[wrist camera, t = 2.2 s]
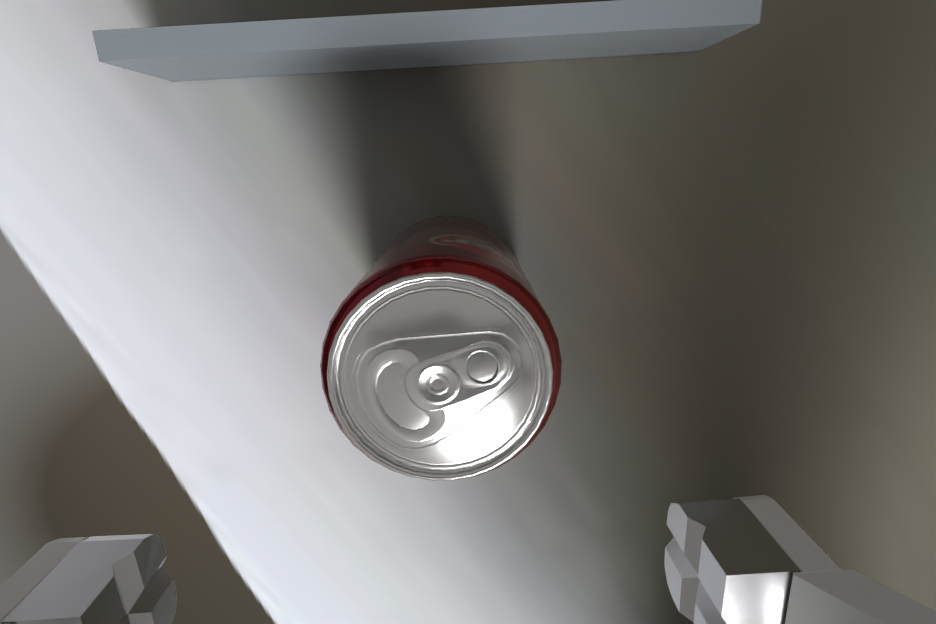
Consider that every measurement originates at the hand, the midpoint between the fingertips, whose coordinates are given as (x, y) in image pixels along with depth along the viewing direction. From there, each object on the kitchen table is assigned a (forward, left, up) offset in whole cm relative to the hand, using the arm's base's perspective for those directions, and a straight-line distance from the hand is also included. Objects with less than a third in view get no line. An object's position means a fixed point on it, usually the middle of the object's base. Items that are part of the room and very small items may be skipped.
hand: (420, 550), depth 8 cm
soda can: (0, 0, -19) cm, 19 cm away
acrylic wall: (+6, -9, -19) cm, 22 cm away
